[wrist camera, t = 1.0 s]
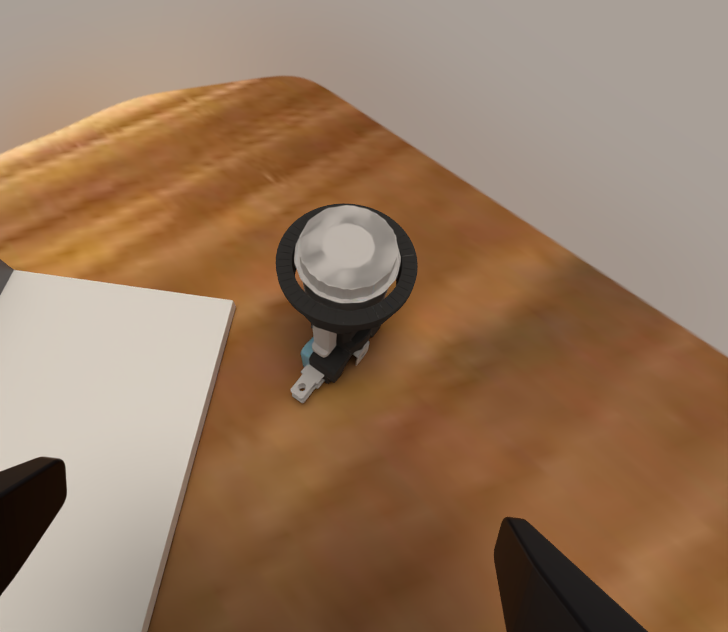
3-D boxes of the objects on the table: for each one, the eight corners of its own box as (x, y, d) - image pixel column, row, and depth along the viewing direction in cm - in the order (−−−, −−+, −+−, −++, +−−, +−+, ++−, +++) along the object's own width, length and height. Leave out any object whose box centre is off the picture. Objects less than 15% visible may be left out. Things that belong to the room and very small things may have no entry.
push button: (336, 430, 22) (343, 376, 13) (257, 372, 23) (212, 283, 14) (404, 335, 25) (449, 234, 16) (331, 286, 26) (333, 164, 17)
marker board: (126, 706, 17) (96, 736, 15) (-230, 664, 17) (-317, 688, 15) (235, 306, 25) (226, 286, 22) (-9, 272, 24) (-43, 248, 22)
